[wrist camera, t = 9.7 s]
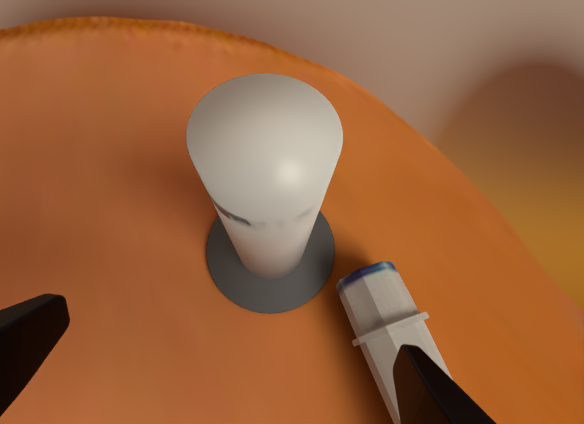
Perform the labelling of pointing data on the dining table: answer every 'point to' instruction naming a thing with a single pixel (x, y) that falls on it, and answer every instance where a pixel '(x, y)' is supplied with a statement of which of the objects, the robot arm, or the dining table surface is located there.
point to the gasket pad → (271, 292)
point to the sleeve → (266, 164)
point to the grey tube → (385, 324)
